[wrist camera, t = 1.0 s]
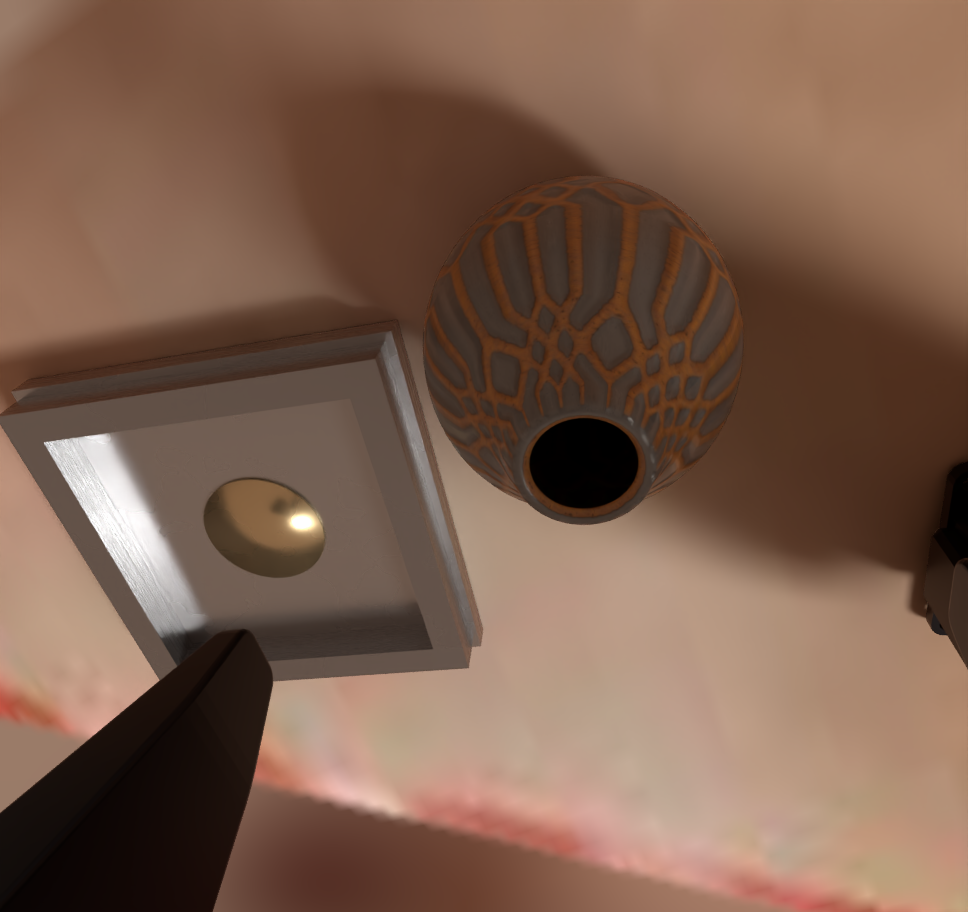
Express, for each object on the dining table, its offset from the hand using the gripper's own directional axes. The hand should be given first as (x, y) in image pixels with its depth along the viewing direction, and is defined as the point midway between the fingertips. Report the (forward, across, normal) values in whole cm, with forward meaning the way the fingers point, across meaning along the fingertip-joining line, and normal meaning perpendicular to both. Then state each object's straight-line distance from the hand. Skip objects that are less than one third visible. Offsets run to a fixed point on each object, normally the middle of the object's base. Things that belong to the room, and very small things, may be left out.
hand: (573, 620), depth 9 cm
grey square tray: (+12, +11, +6) cm, 17 cm away
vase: (+12, 0, 0) cm, 12 cm away
